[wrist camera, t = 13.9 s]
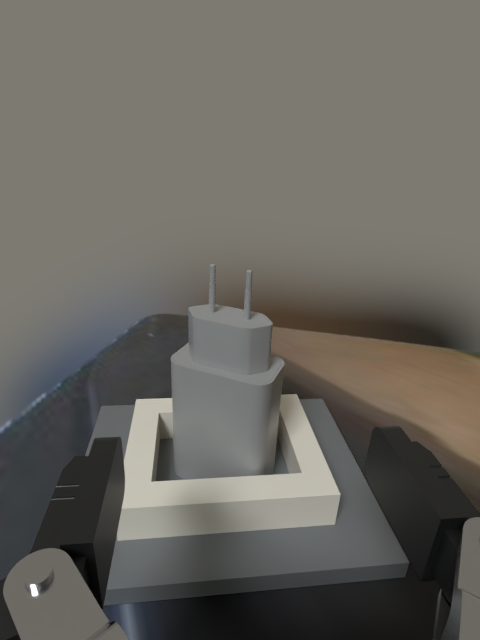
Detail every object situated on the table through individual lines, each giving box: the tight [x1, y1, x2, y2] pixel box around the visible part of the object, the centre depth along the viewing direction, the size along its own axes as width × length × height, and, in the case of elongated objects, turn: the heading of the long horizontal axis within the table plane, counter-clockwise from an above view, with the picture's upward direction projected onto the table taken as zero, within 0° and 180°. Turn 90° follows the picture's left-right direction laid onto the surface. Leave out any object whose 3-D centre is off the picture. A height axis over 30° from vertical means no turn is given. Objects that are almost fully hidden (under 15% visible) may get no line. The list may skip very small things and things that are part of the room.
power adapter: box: [171, 264, 284, 480], centre depth 21 cm, size 3×5×12 cm, turn 67°
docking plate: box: [85, 394, 409, 606], centre depth 23 cm, size 16×13×3 cm
